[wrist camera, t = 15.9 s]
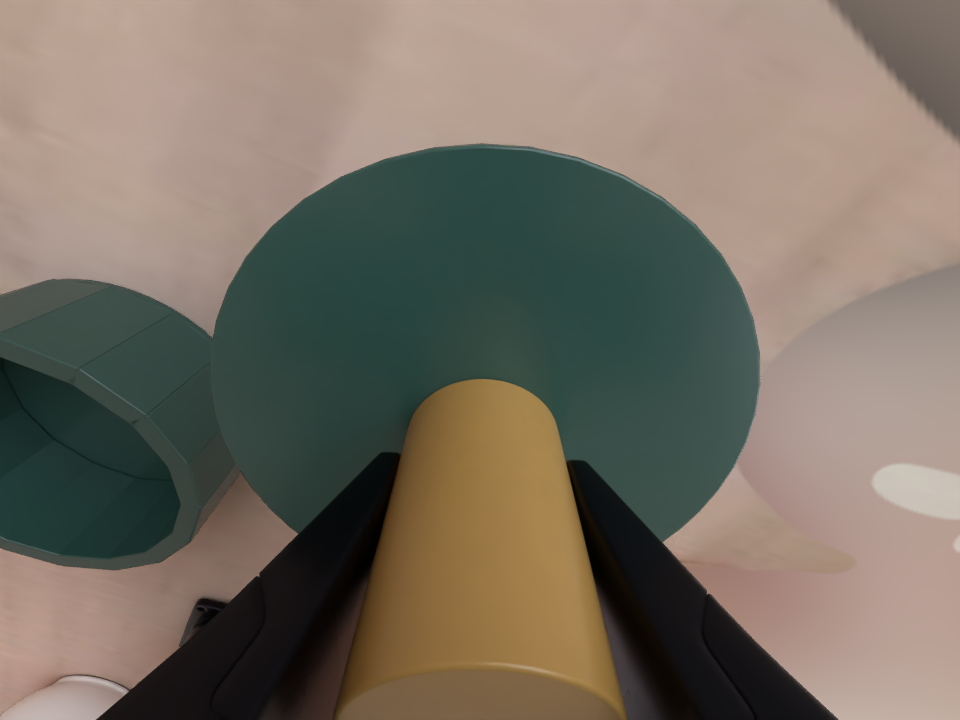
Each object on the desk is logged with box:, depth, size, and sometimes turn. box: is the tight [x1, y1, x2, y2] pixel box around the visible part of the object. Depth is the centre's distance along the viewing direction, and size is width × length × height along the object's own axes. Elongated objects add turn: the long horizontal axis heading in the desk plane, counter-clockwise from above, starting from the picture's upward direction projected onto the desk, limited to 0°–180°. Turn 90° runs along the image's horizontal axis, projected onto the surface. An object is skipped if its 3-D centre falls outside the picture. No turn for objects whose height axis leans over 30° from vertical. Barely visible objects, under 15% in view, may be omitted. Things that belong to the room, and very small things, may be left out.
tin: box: [0, 279, 241, 570], centre depth 17 cm, size 12×12×5 cm
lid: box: [210, 143, 760, 720], centre depth 8 cm, size 13×13×7 cm
